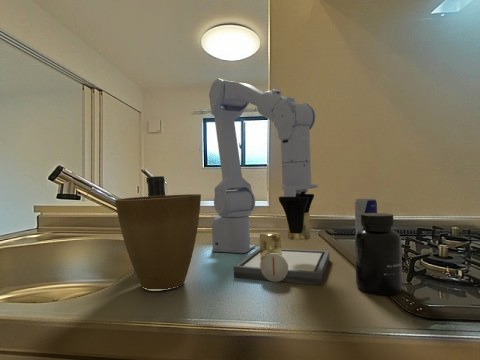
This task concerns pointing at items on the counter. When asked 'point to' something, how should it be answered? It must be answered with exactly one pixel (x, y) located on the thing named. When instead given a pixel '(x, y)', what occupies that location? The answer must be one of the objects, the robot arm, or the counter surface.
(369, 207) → the energy drink
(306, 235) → the cylinder
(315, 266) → the pan
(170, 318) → the counter surface
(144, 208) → the plant pot
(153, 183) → the sauce bottle
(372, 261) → the supplement bottle
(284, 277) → the scale
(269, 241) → the cylinder
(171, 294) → the counter surface
